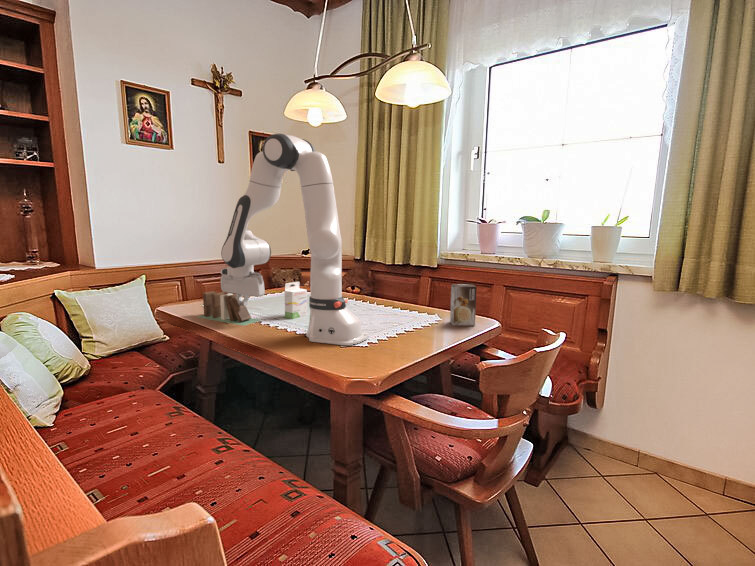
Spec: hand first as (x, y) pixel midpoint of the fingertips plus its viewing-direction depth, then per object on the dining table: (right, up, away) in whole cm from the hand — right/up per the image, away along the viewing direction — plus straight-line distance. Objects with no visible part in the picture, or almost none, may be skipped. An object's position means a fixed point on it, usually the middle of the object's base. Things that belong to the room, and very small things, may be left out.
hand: (243, 305), depth 159 cm
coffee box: (+88, -8, +4) cm, 89 cm away
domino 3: (-4, -6, +3) cm, 8 cm away
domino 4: (+1, -6, +1) cm, 6 cm away
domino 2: (-13, -5, +7) cm, 16 cm away
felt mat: (-8, -6, +5) cm, 11 cm away
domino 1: (-17, -5, +10) cm, 20 cm away
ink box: (+19, -6, +11) cm, 23 cm away
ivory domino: (-8, -6, +5) cm, 11 cm away
